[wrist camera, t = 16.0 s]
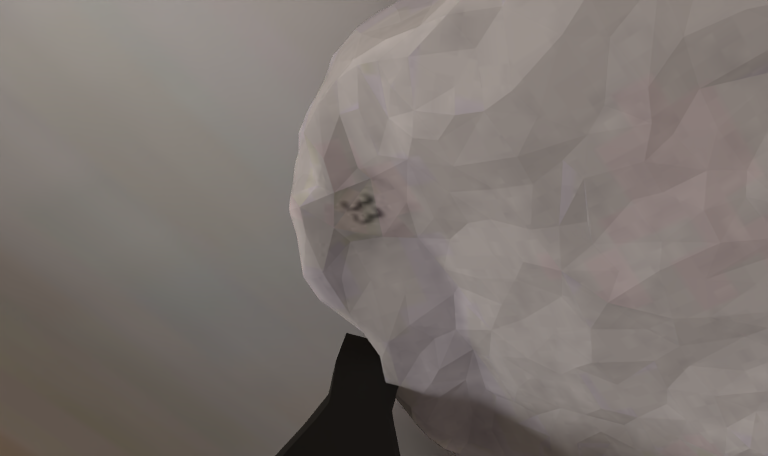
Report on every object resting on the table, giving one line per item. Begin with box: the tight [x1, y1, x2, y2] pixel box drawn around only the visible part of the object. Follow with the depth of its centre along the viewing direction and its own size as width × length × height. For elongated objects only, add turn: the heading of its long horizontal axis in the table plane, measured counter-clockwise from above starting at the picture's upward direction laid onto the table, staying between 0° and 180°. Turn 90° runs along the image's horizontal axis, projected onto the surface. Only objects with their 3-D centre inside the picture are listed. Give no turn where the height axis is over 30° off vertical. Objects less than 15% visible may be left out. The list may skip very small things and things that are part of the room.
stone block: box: [289, 0, 768, 456], centre depth 9 cm, size 12×5×10 cm
